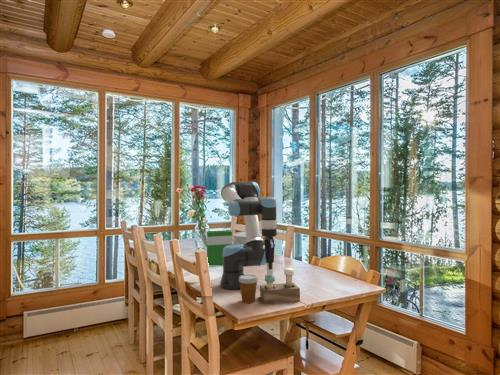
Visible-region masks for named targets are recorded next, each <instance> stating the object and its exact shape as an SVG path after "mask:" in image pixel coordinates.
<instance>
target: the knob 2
mask: <svg viewBox="0 0 500 375" xmlns="http://www.w3.org/2000/svg"><path fill="white" fill-rule="evenodd" d="M294 270H295V269H294V268H292V267H286V268H284V269H283V275H285V283H286V287H287V288H291V287H292V283H293V275H294V274H295V271H294Z"/></svg>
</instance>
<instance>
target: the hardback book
mask: <svg viewBox="0 0 500 375" xmlns="http://www.w3.org/2000/svg"><path fill="white" fill-rule="evenodd" d="M232 234H233V231H231V230H228V229H227V230H225V229H224V230H223V229H222V230H207V231H206V258H207V257H208V263H209V265H219V266H223V248H224V247H225V246H227V245H231V244H233V236H232Z"/></svg>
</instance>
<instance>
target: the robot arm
mask: <svg viewBox="0 0 500 375" xmlns="http://www.w3.org/2000/svg"><path fill="white" fill-rule="evenodd" d="M260 192H261V189H260V185H259V184H258V183H257V182H256V181H232V182H228V183H227V184H224V186H223V187H222V188H221V190H220V196H221V199H223V201H225V202H226V203H227V204H228V215H229V216H232V217H238V216H239V217H240V216H241V217H243V219H244V220H243V221H244V226H245V228H244V229H245V230H246V236H247V242H246V243H245V246H243V244H233V243H232V244H231V245H227V246H225V247H224V248H223V265H222V275H221V279H220V282H219V284H220V285H219V286H220V288H221V289H225V290H239V289H240V282H239V277H240V276H242V275H245V273H244V268H245V267H260V266H266V275H267V276H273V275H274V273H273V272H274V266H273V265H274V264H273V263H274V262H275V247H276V243H275V239H274V237H276V236H278V235H277V234H278V233H277V231H278V229H277V224H278V221H277V198H276V197H275V196H274V197H266V196H265V197H261V193H260ZM260 197H261V200H260ZM259 216H261V219H260V220H261V221H260V220H259ZM259 221H260V222H261V226H260V222H259ZM260 227H261V228H260ZM260 232H261V233H262V236H263V238H265V239H263V240H262V239H261V233H260ZM240 290H241V289H240Z"/></svg>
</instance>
